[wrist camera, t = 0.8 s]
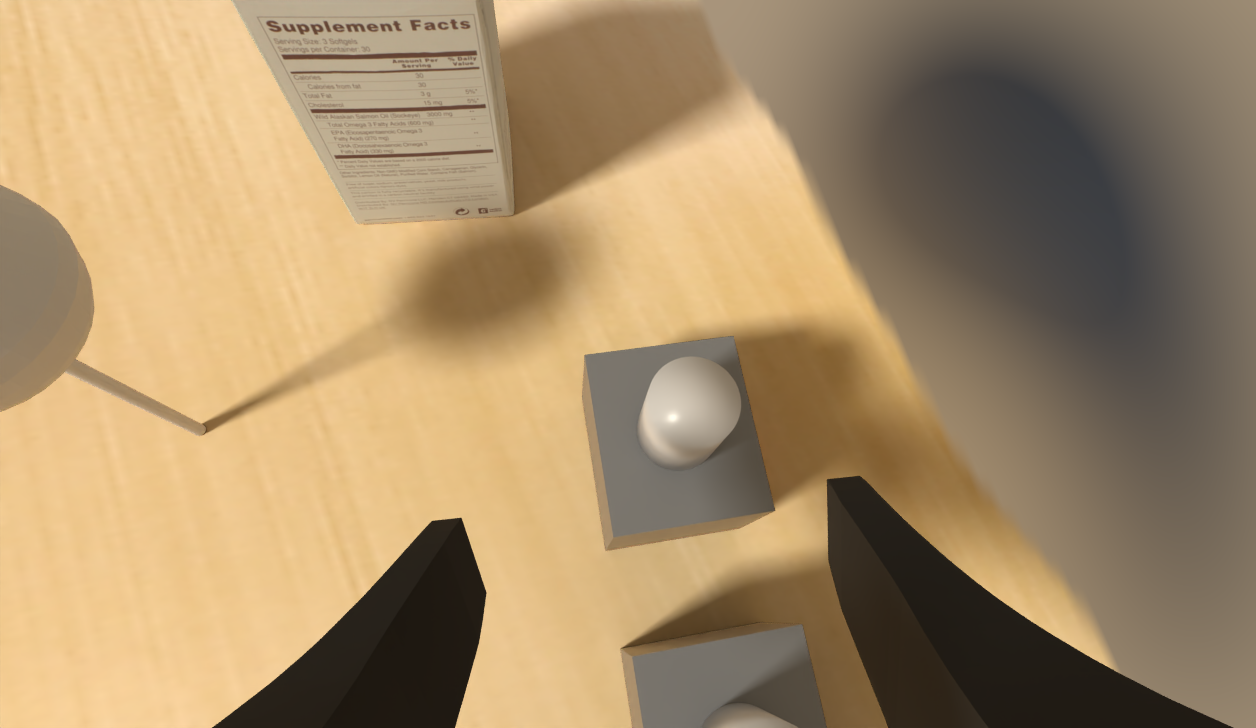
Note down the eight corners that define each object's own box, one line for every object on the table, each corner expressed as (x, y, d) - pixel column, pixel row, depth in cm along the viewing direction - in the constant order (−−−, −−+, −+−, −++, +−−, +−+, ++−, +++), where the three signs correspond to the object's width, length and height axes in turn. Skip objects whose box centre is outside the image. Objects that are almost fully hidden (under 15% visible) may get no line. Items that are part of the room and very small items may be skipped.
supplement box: (356, 99, 33) (237, -188, 21) (509, 95, 34) (476, -183, 22) (351, 230, 30) (214, -12, 19) (517, 222, 31) (485, -15, 20)
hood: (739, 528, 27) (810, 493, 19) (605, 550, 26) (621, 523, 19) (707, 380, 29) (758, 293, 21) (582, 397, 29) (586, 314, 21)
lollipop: (276, 348, 28) (-14, 85, 14) (286, 484, 26) (-35, 338, 12) (115, 377, 27) (-365, 127, 13) (115, 521, 25) (-446, 408, 11)
